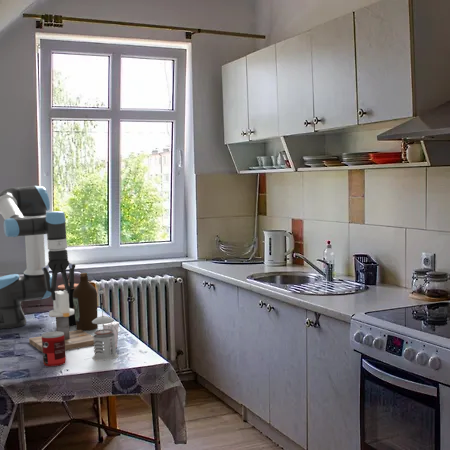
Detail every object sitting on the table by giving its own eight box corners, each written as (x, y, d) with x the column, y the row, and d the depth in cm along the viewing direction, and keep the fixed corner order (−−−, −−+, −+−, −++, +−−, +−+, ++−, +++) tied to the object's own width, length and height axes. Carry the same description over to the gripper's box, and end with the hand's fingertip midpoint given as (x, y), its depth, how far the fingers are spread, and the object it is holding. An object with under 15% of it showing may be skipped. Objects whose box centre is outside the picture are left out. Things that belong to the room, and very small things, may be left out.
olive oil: (96, 324, 298) (93, 270, 296) (101, 329, 289) (98, 273, 287) (73, 327, 294) (69, 272, 292) (77, 332, 284) (73, 275, 283)
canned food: (45, 361, 240) (43, 332, 239) (67, 359, 240) (65, 330, 240) (41, 367, 232) (39, 337, 231) (64, 365, 233) (62, 335, 232)
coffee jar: (77, 326, 297) (75, 287, 295) (55, 326, 299) (53, 287, 298) (87, 321, 307) (84, 283, 306) (66, 321, 309) (63, 283, 308)
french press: (106, 352, 249) (102, 287, 247) (127, 356, 242) (123, 289, 240) (86, 358, 241) (82, 291, 240) (106, 362, 234) (102, 294, 232)
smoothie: (106, 350, 251) (104, 314, 250) (102, 347, 257) (99, 312, 256) (122, 348, 254) (120, 312, 253) (117, 344, 260) (115, 309, 259)
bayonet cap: (46, 314, 266) (44, 292, 266) (69, 310, 271) (68, 289, 271) (54, 318, 256) (53, 296, 256) (79, 315, 262) (77, 293, 261)
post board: (29, 343, 269) (27, 315, 268) (80, 334, 281) (79, 307, 280) (44, 353, 250) (42, 323, 250) (99, 344, 262) (97, 315, 261)
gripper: (39, 252, 255) (43, 311, 257) (80, 248, 264) (84, 305, 266) (34, 251, 262) (38, 308, 263) (74, 247, 270) (78, 303, 272)
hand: (61, 307), depth 264 cm, fingers closed on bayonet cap, 3 cm apart
